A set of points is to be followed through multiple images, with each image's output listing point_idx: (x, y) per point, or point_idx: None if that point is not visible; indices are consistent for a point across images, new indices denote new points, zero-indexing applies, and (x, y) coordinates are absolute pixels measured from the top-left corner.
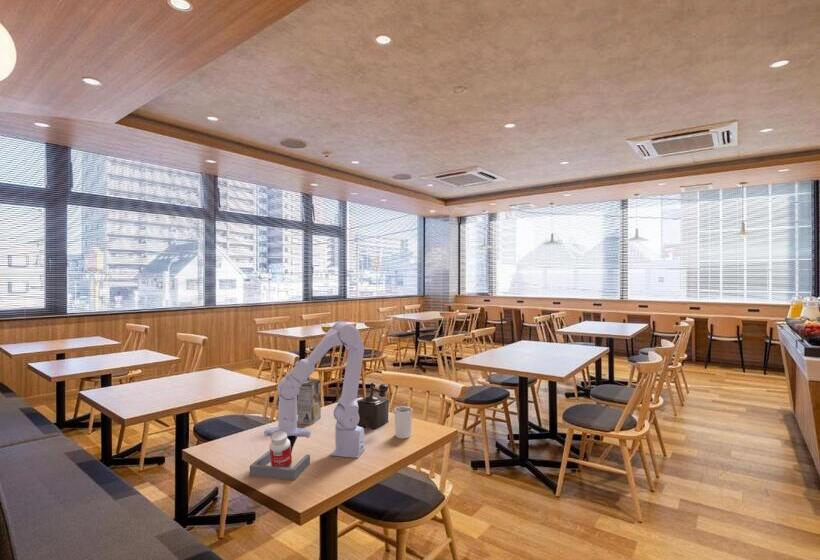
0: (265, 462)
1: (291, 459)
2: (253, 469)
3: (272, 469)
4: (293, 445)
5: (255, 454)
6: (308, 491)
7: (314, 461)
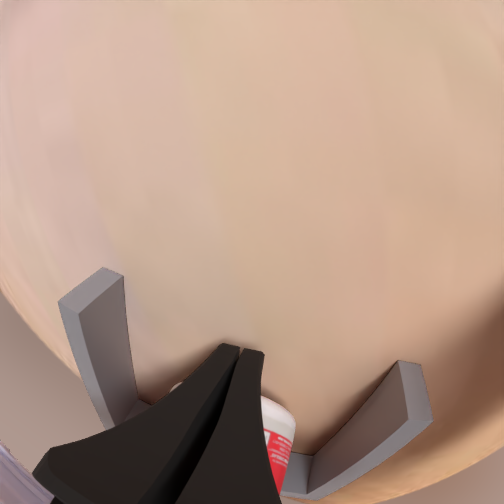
0: (118, 352)
1: (287, 463)
2: None
3: None
4: (264, 451)
5: (24, 177)
6: (366, 488)
7: (457, 328)
